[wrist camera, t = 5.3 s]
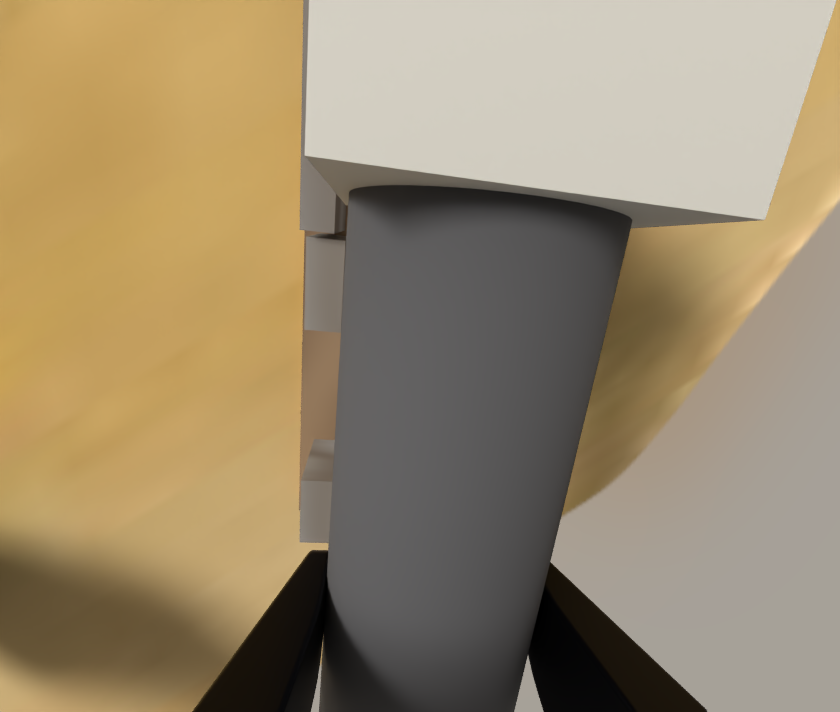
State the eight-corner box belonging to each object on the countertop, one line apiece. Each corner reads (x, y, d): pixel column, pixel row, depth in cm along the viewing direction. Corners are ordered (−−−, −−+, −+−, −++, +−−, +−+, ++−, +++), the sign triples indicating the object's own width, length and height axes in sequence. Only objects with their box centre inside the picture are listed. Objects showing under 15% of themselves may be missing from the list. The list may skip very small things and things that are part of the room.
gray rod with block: (466, 717, 12) (516, 982, 8) (316, 723, 11) (279, 1013, 7) (613, -28, 7) (985, -455, 3) (361, -84, 6) (328, -739, 2)
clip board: (303, 496, 20) (281, 571, 16) (315, -16, 13) (283, -127, 9) (474, 502, 21) (497, 574, 17) (566, 32, 14) (642, -47, 10)
